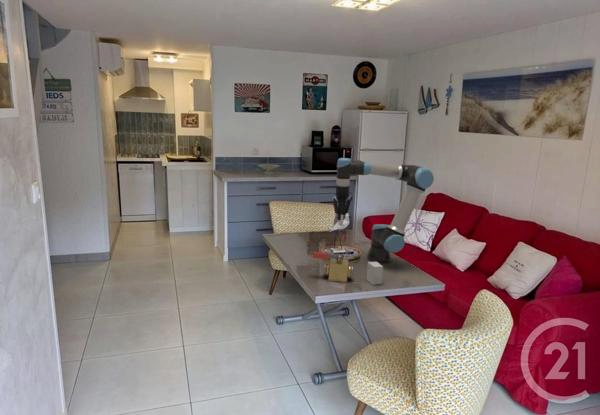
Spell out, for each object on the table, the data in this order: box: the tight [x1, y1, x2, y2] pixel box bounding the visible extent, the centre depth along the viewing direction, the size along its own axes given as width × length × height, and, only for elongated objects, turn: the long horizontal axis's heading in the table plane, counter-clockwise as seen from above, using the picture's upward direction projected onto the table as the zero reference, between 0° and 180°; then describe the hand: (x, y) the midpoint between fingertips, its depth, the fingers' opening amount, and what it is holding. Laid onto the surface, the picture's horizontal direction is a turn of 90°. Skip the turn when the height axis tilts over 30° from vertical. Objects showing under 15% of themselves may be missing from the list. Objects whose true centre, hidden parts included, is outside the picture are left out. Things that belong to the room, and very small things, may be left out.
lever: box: [312, 251, 345, 260], centre depth 230 cm, size 17×4×3 cm, turn 84°
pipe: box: [323, 262, 354, 280], centre depth 231 cm, size 16×8×8 cm, turn 84°
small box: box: [365, 261, 384, 286], centre depth 229 cm, size 8×6×10 cm
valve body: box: [325, 258, 352, 283], centre depth 231 cm, size 14×9×11 cm, turn 84°
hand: (340, 225), depth 242 cm, fingers closed
